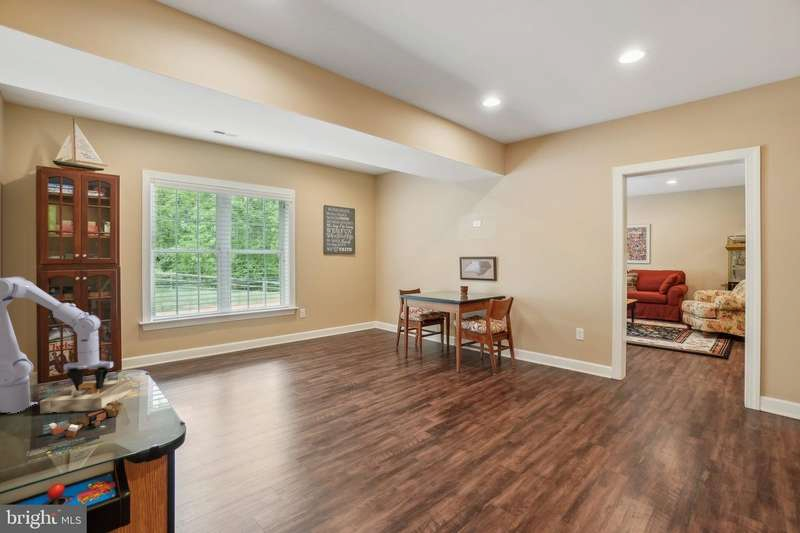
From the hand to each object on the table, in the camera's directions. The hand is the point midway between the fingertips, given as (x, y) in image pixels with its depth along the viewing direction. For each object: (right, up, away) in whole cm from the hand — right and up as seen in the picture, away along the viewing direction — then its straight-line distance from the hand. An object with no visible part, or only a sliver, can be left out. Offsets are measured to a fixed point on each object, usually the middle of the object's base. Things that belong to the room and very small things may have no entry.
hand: (89, 389), depth 131 cm
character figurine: (+15, -5, -17) cm, 23 cm away
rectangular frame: (0, -4, 0) cm, 4 cm away
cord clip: (0, -3, 0) cm, 3 cm away
